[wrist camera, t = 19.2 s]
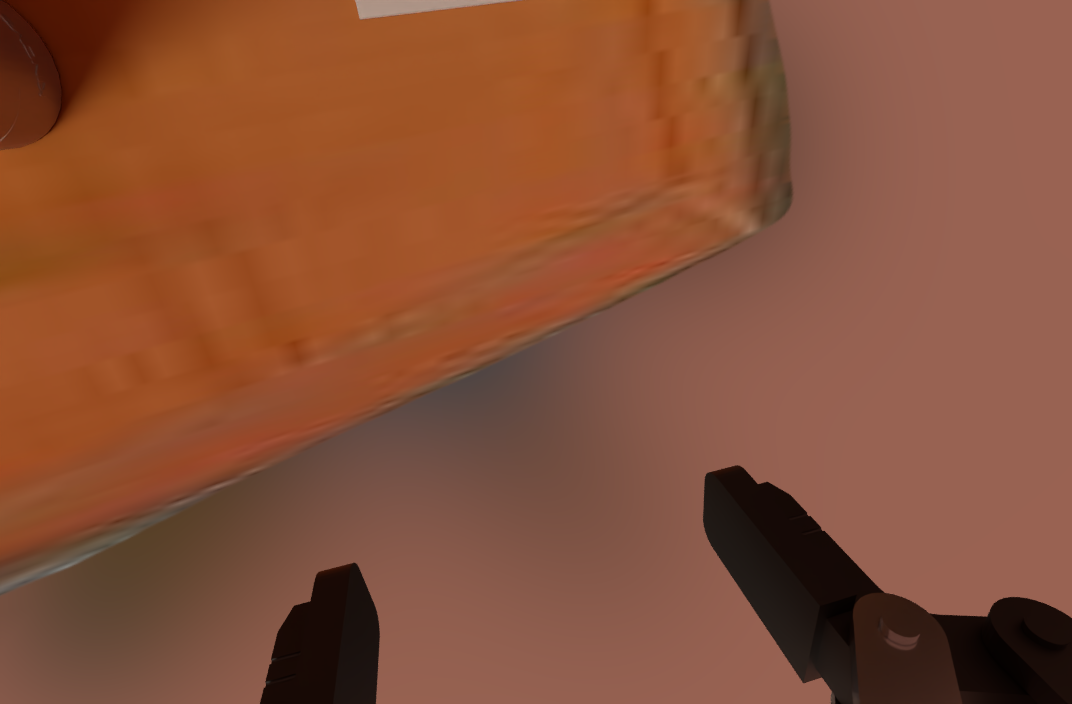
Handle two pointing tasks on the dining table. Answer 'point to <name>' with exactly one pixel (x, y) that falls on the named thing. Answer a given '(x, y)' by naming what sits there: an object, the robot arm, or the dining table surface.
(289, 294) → the dining table surface
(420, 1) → the stand
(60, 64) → the dining table surface
